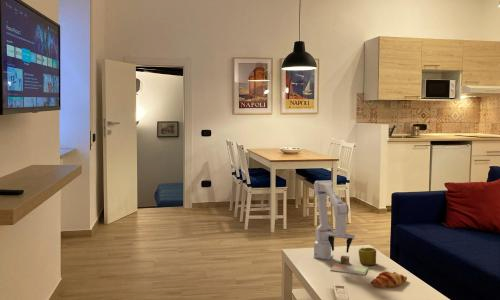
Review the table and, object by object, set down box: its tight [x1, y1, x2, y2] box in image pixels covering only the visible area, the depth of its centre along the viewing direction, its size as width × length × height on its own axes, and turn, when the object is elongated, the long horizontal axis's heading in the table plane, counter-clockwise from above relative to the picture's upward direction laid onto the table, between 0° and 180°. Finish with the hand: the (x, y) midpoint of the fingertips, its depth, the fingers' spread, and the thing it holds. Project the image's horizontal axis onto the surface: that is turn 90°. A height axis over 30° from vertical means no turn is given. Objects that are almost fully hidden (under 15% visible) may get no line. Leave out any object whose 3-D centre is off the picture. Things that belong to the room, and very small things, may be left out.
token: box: [339, 255, 350, 265], centre depth 256 cm, size 4×4×4 cm
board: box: [330, 262, 369, 276], centre depth 247 cm, size 18×11×1 cm, turn 68°
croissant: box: [370, 270, 408, 289], centre depth 227 cm, size 21×10×8 cm, turn 114°
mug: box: [358, 246, 377, 266], centre depth 257 cm, size 12×10×10 cm
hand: (340, 251), depth 246 cm, fingers open, 7 cm apart
